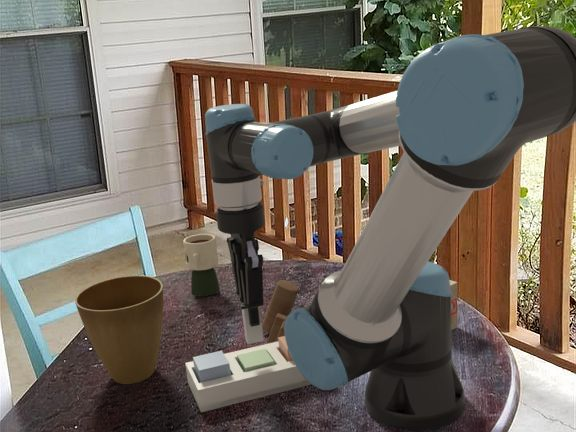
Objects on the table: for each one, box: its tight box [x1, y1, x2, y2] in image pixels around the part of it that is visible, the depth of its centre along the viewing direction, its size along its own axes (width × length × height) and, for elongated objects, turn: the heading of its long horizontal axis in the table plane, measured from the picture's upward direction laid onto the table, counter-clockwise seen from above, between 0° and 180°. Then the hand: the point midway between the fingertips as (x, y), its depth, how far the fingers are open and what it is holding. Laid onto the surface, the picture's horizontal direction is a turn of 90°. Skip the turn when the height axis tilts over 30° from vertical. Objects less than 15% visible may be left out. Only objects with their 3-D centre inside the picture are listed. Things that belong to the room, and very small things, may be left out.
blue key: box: [192, 350, 231, 383], centre depth 122 cm, size 5×5×4 cm
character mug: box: [182, 233, 221, 297], centre depth 163 cm, size 11×7×13 cm, turn 174°
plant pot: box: [74, 274, 164, 385], centre depth 129 cm, size 15×15×16 cm
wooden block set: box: [262, 279, 306, 344], centre depth 139 cm, size 18×9×10 cm, turn 169°
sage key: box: [237, 349, 274, 372], centre depth 124 cm, size 5×5×4 cm
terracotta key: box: [278, 336, 293, 362], centre depth 126 cm, size 5×5×4 cm
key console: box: [185, 342, 312, 413], centre depth 124 cm, size 10×22×4 cm, turn 109°
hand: (254, 340), depth 122 cm, fingers closed
